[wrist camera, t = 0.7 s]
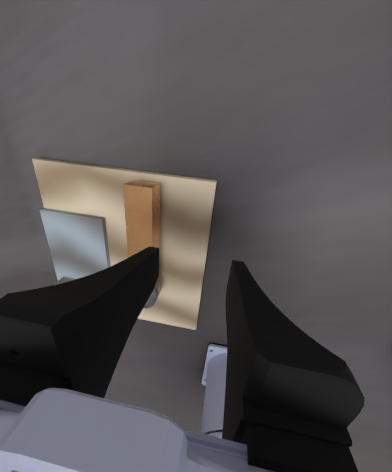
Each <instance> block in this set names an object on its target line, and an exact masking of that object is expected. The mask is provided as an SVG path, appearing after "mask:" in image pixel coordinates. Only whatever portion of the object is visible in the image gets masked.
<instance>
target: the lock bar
mask: <svg viewBox="0 0 392 472" xmlns="http://www.w3.org/2000/svg"><path fill="white" fill-rule="evenodd" d="M123 190H124V206H125V221H126V237H127V253H128V258H129V257H131V256H132V255H134V254H136V253H138V252H140V251H142V250H143V249H145V248H147V247H149V246H150V247H156V248H159V222H160V183H154V182H146V181H139V180H132V181H130V182H127V183H125V184H123ZM161 289H162V284H161V282H160V280H159V277H158V280H157V282H156V285H155V287H154V290H153V292H152V293H151V295H150V297H149V299H148V301H147V302H146V304H145V306H144V308H150V307H152V306H153V305H154V304H155V302H156V300H157V298H158V296H159V294H160V292H161Z"/></svg>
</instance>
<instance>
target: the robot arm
mask: <svg viewBox="0 0 392 472" xmlns="http://www.w3.org/2000/svg"><path fill="white" fill-rule="evenodd" d="M158 277H159V248H156V247H150V246H149V247H147V248H145V249H143V250H142V251H140V252H138V253H136V254H134V255H132V256H131V257H129V258H127V259H125V260H123V261H121V262H119V263H117V264H115V265H113V266H111V267H108V268H106V269H104V270H101V271H99V272H96V273H94V274H91V275H88V276H85V277H82V278H78V279H75V280H72V281H69V282H65V283H61V284H57V285H53V286H48V287H44V288H39V289H33V290H27V291H21V292H15V293H8V294H7V295H5V296H4V297H2V298H1V299H0V472H358V470H357V467H356V465H355V462H354V460H353V457H352V454H351V452H350V449H349V447H351V446H352V440H351V437H350V435H349V432H348V430H347V427H348V425H349V424H350V423H351V422H352V421H353V420H354V419H355V418H356V417H357V415H358V414H359V413H360V411H361V410H362V408H363V406H364V396H363V394H362V392H361V390H360V388H359V386H358V384H357V382H356V380H355V378H354V376H353V374H352V373H351V371H350V369H349V367H348V366H347V364H346V362H345V361H344V360H342V359H341V358H339V357H338V356H336V355H335V354H333V353H332V352H330V351H329V350H327V349H326V348H324V347H323V346H321V345H320V344H319V343H317V342H316V341H315V340H313V339H312V338H311V337H309V336H308V335H307V334H306V333H304V332H303V331H302V330H301V329H299V328H298V327H297V326H296V325H295V324H294V323H292V322H291V321H290V320H289V319H288V318H287V317H286V316H285V315H284V314H283V313H282V312H281V311H280V310H279V309H278V308H277V307H276V306H275V305H274V304H273V303H272V302H271V301H270V300H269V298H268V297H267V296H266V295H265V294H264V292H263V291H262V290H261V288H260V287H259V286H258V284H257V283H256V281H255V280H254V278H253V277H252V275H251V273H250V272H249V270H248V269H247V267H246V265H245V263H244V262H241V261H235V260H232V265H231V270H230V275H229V280H228V284H227V291H226V323H227V347H225V346H220V345H215V344H209V346H208V351H207V356H206V361H205V367H204V372H203V377H202V384H203V385H205V386H206V389H205V399H204V408H203V418H202V428H201V433H198V432H194V431H190V430H186V429H182V427H181V426H180V425H178V424H177V423H176V422H174V421H173V420H172V419H171V418H169V417H168V416H165V415H163V414H160V413H157V412H155V411H152V410H149V409H145V408H141V407H137V406H133V405H129V404H125V403H121V402H117V401H113V400H109V399H105V398H104V396H105V394H106V391H107V388H108V386H109V383H110V381H111V378H112V375H113V373H114V370H115V368H116V365H117V363H118V360H119V358H120V356H121V353H122V351H123V348H124V346H125V344H126V341H127V339H128V337H129V334H130V332H131V330H132V328H133V326H134V324H135V322H136V320H137V318H138V317H139V315H140V313H141V311H142V309H143V308H144V306H145V304H146V302H147V301H148V299H149V297H150V295H151V293H152V292H153V290H154V287H155V285H156V282H157V280H158ZM348 446H349V447H348Z"/></svg>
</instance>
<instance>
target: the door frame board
mask: <svg viewBox="0 0 392 472" xmlns="http://www.w3.org/2000/svg"><path fill="white" fill-rule="evenodd" d="M32 160H33V164H34V168H35V173H36V177H37V181H38V185H39V189H40V193H41V197H42V201H43V205H44V208H43V209H40V213H41V217H42V221H43V225H44V229H45V232H46V236H47V240H48V244H49V248H50V252H51V255H52V259H53V263H54V267H55V271H56V275H57V278H58V282H56V283H55V284H54V285H57V284H61V283H65V282H69V281H72V280H75V279H78V278H82V277H85V276H88V275H91V274H94V273H96V272H99V271H101V270H104V269H106V268H108V267H111V266H113V265H115V264H117V263H119V262H121V261H123V260H125V259H127V258H128V253H127V237H126V221H125V206H124V190H123V184H125V183H127V182H130V181H132V180H139V181H146V182H154V183H160V222H159V280H160V282H161V284H162V289H161V292H160V294H159V296H158V298H157V300H156V302H155V304H154V305H153V306H152V307H150V308H143V309H142V311H141V313H140V315H139V317H138V319H143V320H148V321H153V322H158V323H163V324H168V325H173V326H178V327H183V328H188V329H193V330H196V327H197V321H198V314H199V306H200V299H201V292H202V285H203V278H204V270H205V263H206V256H207V249H208V241H209V234H210V227H211V220H212V213H213V205H214V198H215V191H216V184H217V180H210V179H202V178H194V177H186V176H178V175H171V174H163V173H155V172H147V171H139V170H131V169H123V168H115V167H107V166H99V165H91V164H84V163H76V162H68V161H60V160H52V159H44V158H36V159H32Z"/></svg>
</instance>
